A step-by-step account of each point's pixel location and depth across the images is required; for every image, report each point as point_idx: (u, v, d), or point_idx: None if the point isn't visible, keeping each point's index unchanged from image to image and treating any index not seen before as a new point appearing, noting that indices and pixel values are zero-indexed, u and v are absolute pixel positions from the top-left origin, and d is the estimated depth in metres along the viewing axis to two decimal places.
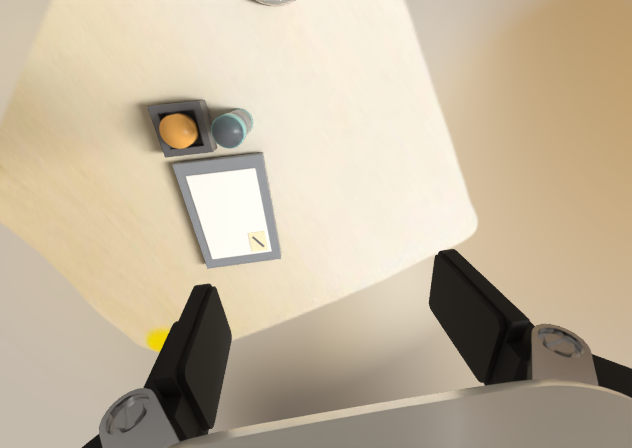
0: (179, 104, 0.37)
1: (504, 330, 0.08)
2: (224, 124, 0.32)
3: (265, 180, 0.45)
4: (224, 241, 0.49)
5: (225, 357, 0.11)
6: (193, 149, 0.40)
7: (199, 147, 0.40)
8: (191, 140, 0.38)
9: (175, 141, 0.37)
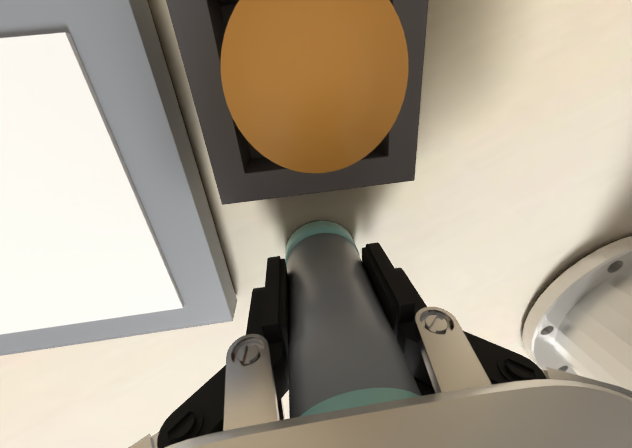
0: (414, 98, 0.09)
1: (396, 312, 0.09)
2: None
3: (146, 330, 0.14)
4: None
5: None
6: (225, 125, 0.08)
7: (235, 152, 0.09)
8: (274, 156, 0.07)
9: (260, 57, 0.06)
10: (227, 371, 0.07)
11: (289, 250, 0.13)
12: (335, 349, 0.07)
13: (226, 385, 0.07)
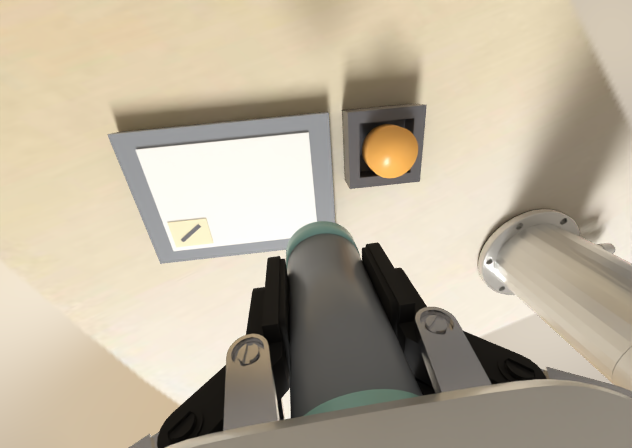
0: (420, 153, 0.26)
1: (396, 312, 0.09)
2: None
3: None
4: (183, 178, 0.26)
5: None
6: (356, 162, 0.26)
7: (358, 170, 0.26)
8: (378, 173, 0.24)
9: (379, 148, 0.23)
10: (227, 371, 0.07)
11: (290, 251, 0.13)
12: (337, 350, 0.07)
13: (226, 385, 0.07)
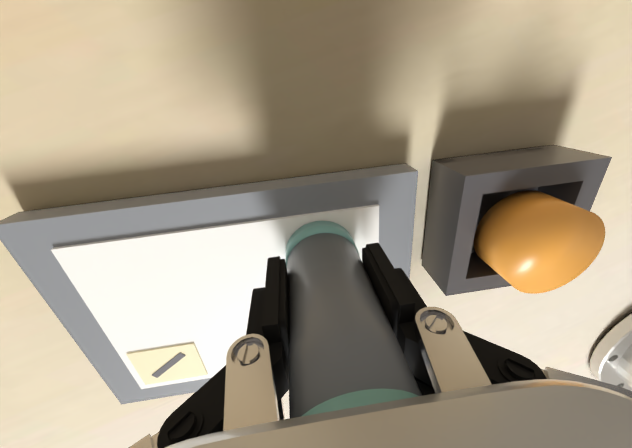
0: None
1: (396, 312, 0.09)
2: None
3: None
4: (148, 288, 0.14)
5: None
6: (465, 256, 0.14)
7: (465, 268, 0.15)
8: (518, 286, 0.13)
9: (532, 247, 0.12)
10: (227, 371, 0.07)
11: (289, 250, 0.13)
12: (336, 349, 0.07)
13: (226, 385, 0.07)
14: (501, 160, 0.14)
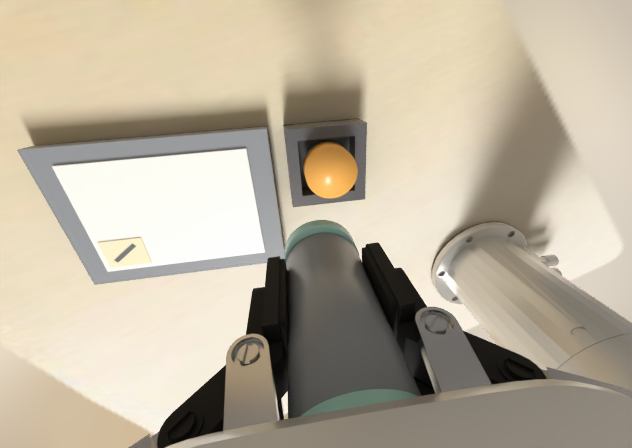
0: (363, 171, 0.25)
1: (396, 313, 0.09)
2: None
3: (245, 263, 0.30)
4: (110, 196, 0.24)
5: None
6: (297, 180, 0.24)
7: (300, 188, 0.25)
8: (317, 193, 0.23)
9: (316, 168, 0.22)
10: (227, 371, 0.07)
11: (288, 250, 0.13)
12: (335, 349, 0.07)
13: (226, 385, 0.07)
14: (315, 124, 0.24)
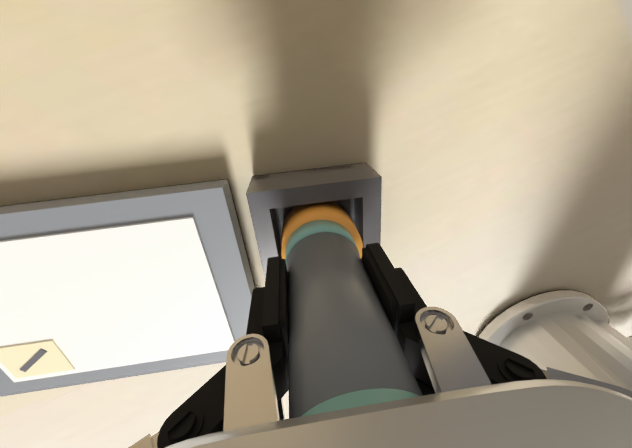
0: None
1: (396, 312, 0.09)
2: None
3: (211, 362, 0.21)
4: None
5: None
6: None
7: None
8: None
9: None
10: (227, 371, 0.07)
11: (289, 249, 0.13)
12: (336, 349, 0.07)
13: (226, 385, 0.07)
14: (299, 178, 0.15)
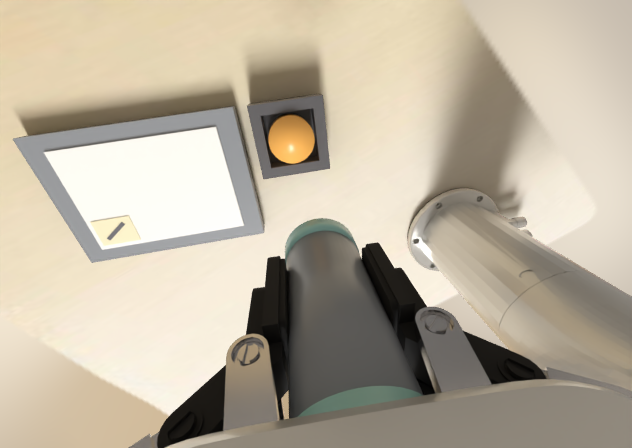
0: (325, 142, 0.27)
1: (396, 312, 0.09)
2: None
3: (227, 237, 0.32)
4: (97, 177, 0.27)
5: None
6: (265, 153, 0.27)
7: (268, 161, 0.27)
8: (281, 159, 0.26)
9: (277, 136, 0.25)
10: (227, 371, 0.07)
11: (289, 248, 0.13)
12: (336, 347, 0.07)
13: (226, 385, 0.07)
14: (277, 100, 0.26)
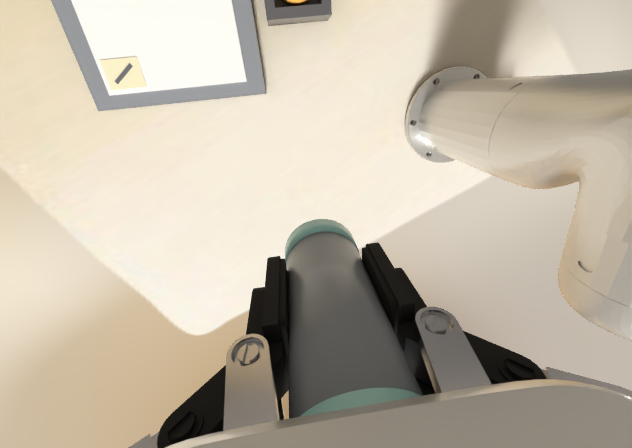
0: None
1: (396, 312, 0.09)
2: None
3: (230, 95, 0.33)
4: (109, 8, 0.28)
5: None
6: None
7: None
8: None
9: None
10: (227, 371, 0.07)
11: (289, 249, 0.13)
12: (336, 348, 0.07)
13: (226, 385, 0.07)
14: None
